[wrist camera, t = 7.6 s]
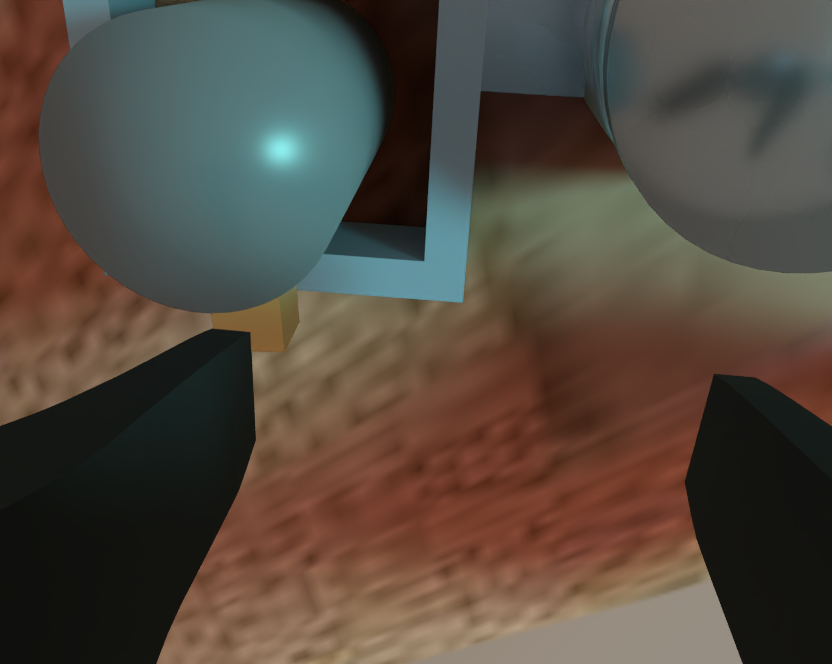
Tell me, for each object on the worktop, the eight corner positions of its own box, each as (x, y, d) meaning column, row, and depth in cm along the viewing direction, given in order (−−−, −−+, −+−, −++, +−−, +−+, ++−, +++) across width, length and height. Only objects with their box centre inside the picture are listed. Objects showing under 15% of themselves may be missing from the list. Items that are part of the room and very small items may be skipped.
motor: (1019, -152, 15) (1349, -217, 10) (900, 188, 19) (1093, 295, 13) (501, -176, 16) (513, -252, 10) (473, 160, 19) (470, 249, 13)
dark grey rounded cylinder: (392, -15, 18) (332, 6, 10) (398, 247, 20) (354, 402, 13) (193, -13, 18) (3, 8, 11) (227, 244, 21) (95, 394, 14)
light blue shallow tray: (496, -116, 16) (499, -127, 14) (464, 265, 21) (462, 302, 18) (97, -136, 17) (39, -150, 15) (144, 241, 21) (104, 274, 19)
